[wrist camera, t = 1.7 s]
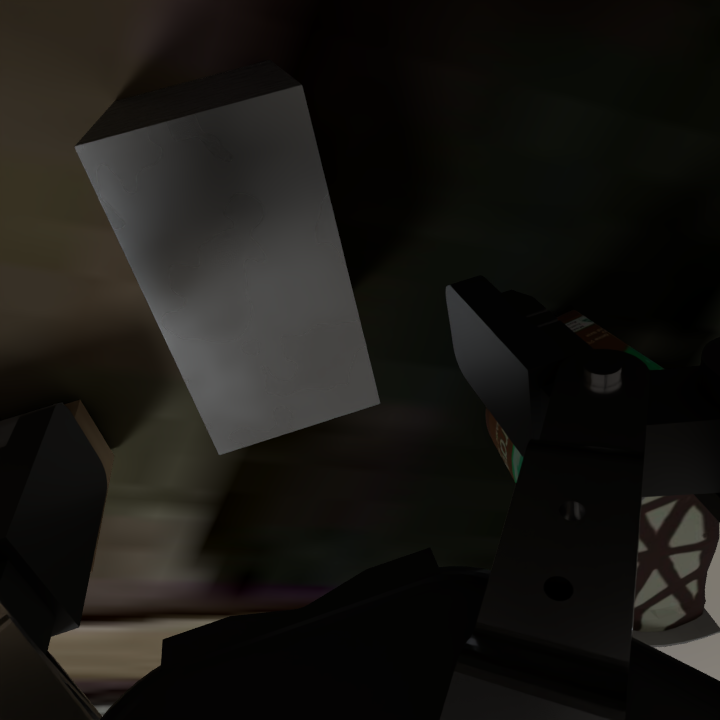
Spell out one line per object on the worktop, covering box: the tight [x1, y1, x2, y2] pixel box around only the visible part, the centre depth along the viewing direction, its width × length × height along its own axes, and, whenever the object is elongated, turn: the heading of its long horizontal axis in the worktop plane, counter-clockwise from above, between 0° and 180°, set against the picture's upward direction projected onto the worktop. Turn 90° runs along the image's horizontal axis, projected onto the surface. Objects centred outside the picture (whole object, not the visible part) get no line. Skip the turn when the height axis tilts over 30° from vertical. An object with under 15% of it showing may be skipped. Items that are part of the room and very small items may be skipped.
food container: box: [485, 310, 720, 647], centre depth 25 cm, size 12×6×10 cm, turn 15°
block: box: [74, 60, 380, 455], centre depth 18 cm, size 9×5×7 cm, turn 12°
